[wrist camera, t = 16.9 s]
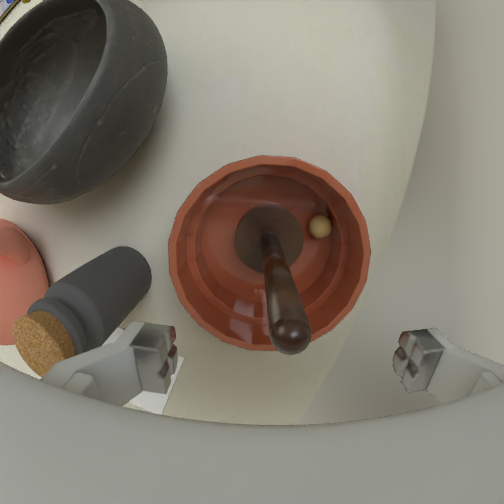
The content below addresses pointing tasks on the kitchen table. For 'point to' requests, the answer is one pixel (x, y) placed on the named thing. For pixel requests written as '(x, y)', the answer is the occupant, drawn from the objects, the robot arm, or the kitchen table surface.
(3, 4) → the smartphone
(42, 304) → the bottle
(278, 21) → the kitchen table surface
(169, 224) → the kitchen table surface
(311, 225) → the dough ball
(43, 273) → the teapot
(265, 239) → the wooden plunger
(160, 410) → the white flat square slab
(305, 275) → the mixing bowl
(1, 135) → the bowl
